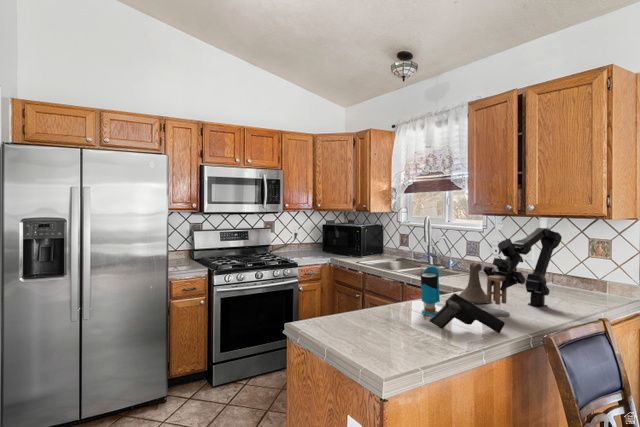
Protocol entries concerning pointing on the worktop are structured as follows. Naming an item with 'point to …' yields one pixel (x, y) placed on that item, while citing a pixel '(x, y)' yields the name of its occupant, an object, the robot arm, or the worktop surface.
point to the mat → (498, 312)
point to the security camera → (430, 289)
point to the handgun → (465, 314)
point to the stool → (495, 289)
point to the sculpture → (474, 286)
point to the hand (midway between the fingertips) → (494, 288)
